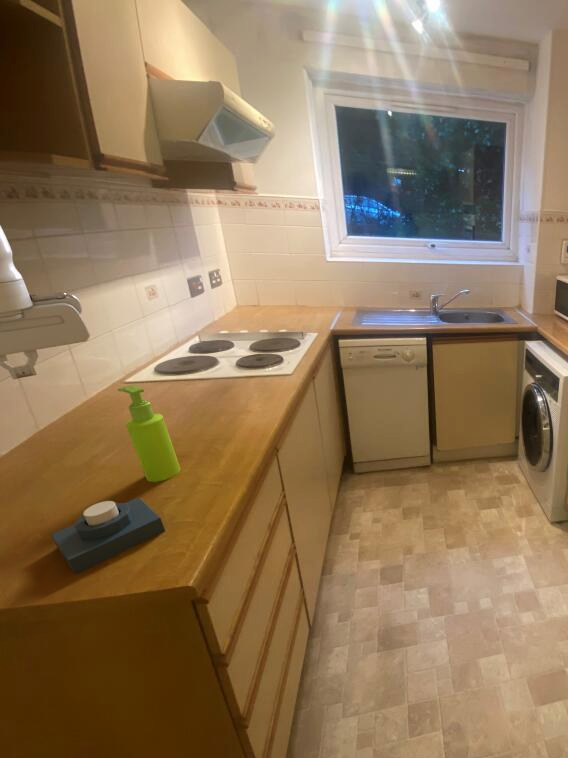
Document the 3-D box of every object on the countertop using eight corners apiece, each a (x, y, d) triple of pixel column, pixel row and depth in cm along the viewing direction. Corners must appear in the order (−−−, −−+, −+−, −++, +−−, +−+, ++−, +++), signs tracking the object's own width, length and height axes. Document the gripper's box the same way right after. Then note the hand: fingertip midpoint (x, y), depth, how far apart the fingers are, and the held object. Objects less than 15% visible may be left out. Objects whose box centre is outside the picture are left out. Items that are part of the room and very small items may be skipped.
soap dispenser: (167, 462, 97) (138, 380, 89) (186, 470, 94) (158, 385, 87) (137, 476, 92) (104, 390, 84) (157, 484, 90) (124, 396, 82)
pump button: (92, 529, 71) (87, 519, 70) (84, 520, 73) (79, 510, 72) (122, 516, 74) (118, 506, 73) (114, 507, 76) (110, 497, 75)
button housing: (75, 574, 68) (63, 550, 66) (57, 548, 73) (45, 524, 71) (165, 531, 77) (156, 508, 75) (144, 510, 82) (135, 488, 80)
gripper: (70, 288, 81) (95, 358, 86) (-112, 305, 66) (-68, 389, 71) (80, 292, 78) (105, 365, 83) (-109, 311, 62) (-64, 399, 68)
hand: (24, 376), depth 77 cm, fingers closed
